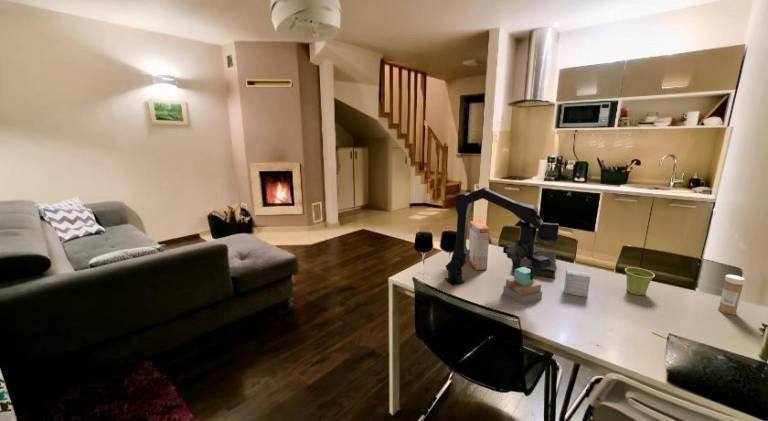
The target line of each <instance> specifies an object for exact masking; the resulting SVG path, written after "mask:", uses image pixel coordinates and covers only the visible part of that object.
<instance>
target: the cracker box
mask: <svg viewBox="0 0 768 421" xmlns="http://www.w3.org/2000/svg"><path fill="white" fill-rule="evenodd" d="M490 230H491V229H490V227H489V226H488V225H486V224H485V223H484V222H483V221H481V220H470V221H469V238H468V241H469V242H468V250H470V254H469V255H470V259H469V260H468V261H469V263H470V265H471V266H472V267H473V269H474V271H475V270H476V271H480V270H481V271H487V270H488V269H487V268H488V257H489V242H490Z"/></svg>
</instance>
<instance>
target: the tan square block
mask: <svg viewBox="0 0 768 421" xmlns="http://www.w3.org/2000/svg"><path fill="white" fill-rule="evenodd" d="M505 285H506V287H508V288H510V289H511V290H513V291H515V292H517V293H518V294H520V295H522V296H526V295H529V294H533V293H537V292H541V291H542V284H541V283H540V282H537V281H535V280H534V283H532V284H528V285H524V286H523V285H521V284H520V283H518V282H516V281H514V277H512V278H511V277H510V278H506V281H505Z"/></svg>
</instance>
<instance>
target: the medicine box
mask: <svg viewBox="0 0 768 421" xmlns="http://www.w3.org/2000/svg"><path fill="white" fill-rule="evenodd" d="M564 279H565V280H564V286H563V287H564V288H563V290H564V294H567V295H573V296H579V297H586V298H588V296H589V288H590V281H591V277H590V274H589V273H588V272H582V271H576V270H568V269H567V270H565V278H564Z"/></svg>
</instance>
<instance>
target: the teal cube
mask: <svg viewBox="0 0 768 421" xmlns="http://www.w3.org/2000/svg"><path fill="white" fill-rule="evenodd" d="M530 271H531V270H530V269H528V268H526V267H521V268H517V269H515V273H514V275H513V278H514V281H516V282H518V283H520V284H521V285H523V286H524V285H528V284H532V283H534V281H535V280H534V279H535V278H534V279H533V280H530Z"/></svg>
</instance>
